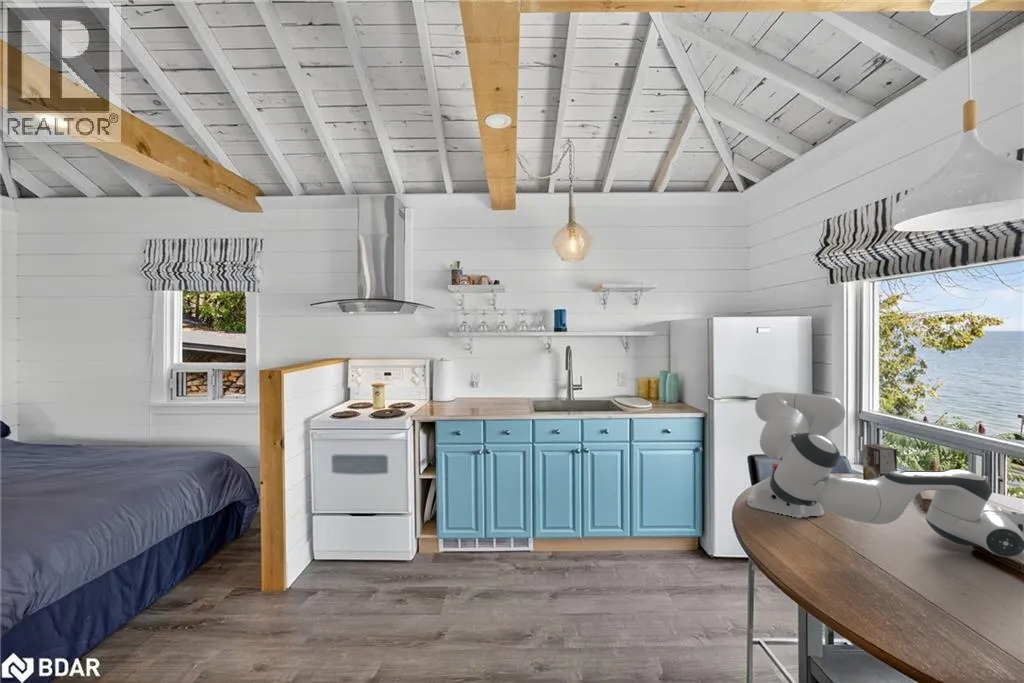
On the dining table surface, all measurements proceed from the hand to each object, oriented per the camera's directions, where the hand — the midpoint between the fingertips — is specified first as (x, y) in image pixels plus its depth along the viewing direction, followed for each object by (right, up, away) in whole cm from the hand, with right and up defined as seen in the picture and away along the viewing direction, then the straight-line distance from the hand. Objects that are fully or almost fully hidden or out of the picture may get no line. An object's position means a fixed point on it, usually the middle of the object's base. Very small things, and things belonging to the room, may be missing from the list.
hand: (975, 506), depth 139 cm
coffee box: (+1, -7, +37) cm, 38 cm away
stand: (+8, -7, +18) cm, 21 cm away
